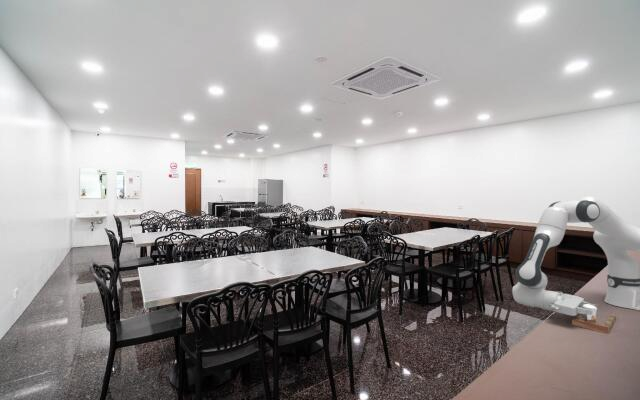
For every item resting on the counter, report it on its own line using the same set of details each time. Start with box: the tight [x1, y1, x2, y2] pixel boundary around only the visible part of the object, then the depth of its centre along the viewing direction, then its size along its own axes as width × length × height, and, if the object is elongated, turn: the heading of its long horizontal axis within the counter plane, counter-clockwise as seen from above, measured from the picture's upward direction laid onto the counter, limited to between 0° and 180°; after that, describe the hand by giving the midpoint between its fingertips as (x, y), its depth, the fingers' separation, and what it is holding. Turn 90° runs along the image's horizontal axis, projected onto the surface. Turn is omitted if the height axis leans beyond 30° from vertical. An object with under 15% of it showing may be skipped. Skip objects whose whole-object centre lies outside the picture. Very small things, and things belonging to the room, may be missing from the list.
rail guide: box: [571, 307, 617, 334], centre depth 132 cm, size 24×11×2 cm, turn 130°
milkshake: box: [582, 302, 599, 323], centre depth 127 cm, size 4×5×10 cm
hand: (594, 309), depth 127 cm, fingers open, 8 cm apart
